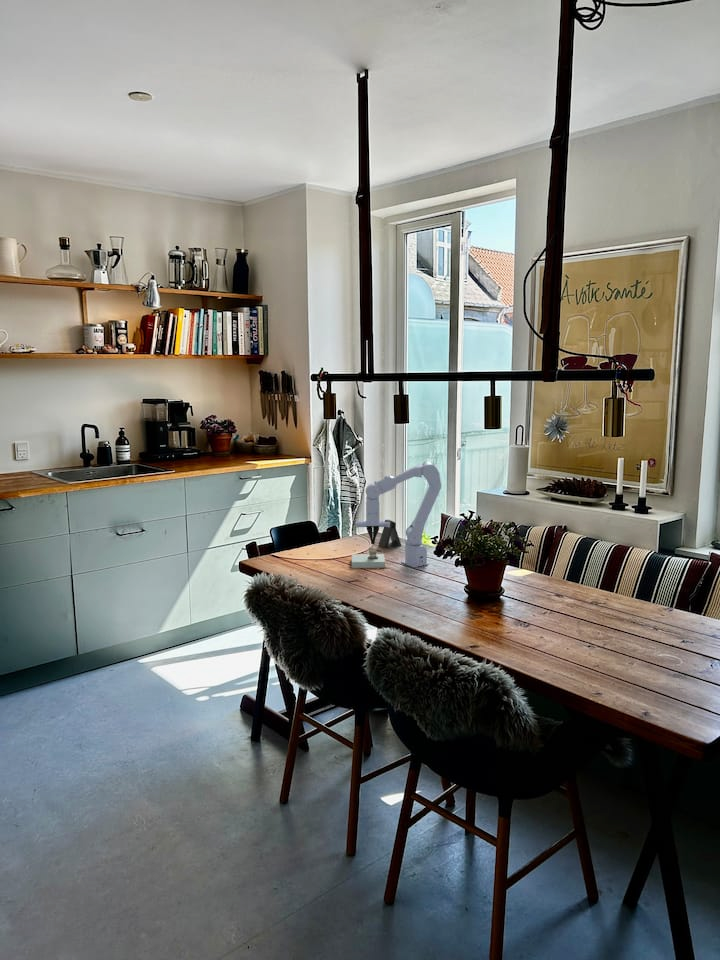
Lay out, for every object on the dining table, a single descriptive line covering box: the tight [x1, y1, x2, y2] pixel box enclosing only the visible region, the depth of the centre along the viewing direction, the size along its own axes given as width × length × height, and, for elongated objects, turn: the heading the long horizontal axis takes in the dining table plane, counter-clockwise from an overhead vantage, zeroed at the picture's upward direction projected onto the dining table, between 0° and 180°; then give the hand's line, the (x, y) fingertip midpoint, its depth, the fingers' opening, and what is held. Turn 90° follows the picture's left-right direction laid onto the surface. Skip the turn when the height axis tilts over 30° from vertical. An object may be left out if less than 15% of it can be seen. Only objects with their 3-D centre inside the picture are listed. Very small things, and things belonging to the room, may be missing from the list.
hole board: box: [351, 553, 386, 569], centre depth 300 cm, size 14×12×2 cm
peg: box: [368, 546, 378, 559], centre depth 300 cm, size 3×3×7 cm
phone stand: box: [378, 519, 402, 549], centre depth 329 cm, size 9×6×12 cm, turn 116°
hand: (372, 543), depth 299 cm, fingers closed
